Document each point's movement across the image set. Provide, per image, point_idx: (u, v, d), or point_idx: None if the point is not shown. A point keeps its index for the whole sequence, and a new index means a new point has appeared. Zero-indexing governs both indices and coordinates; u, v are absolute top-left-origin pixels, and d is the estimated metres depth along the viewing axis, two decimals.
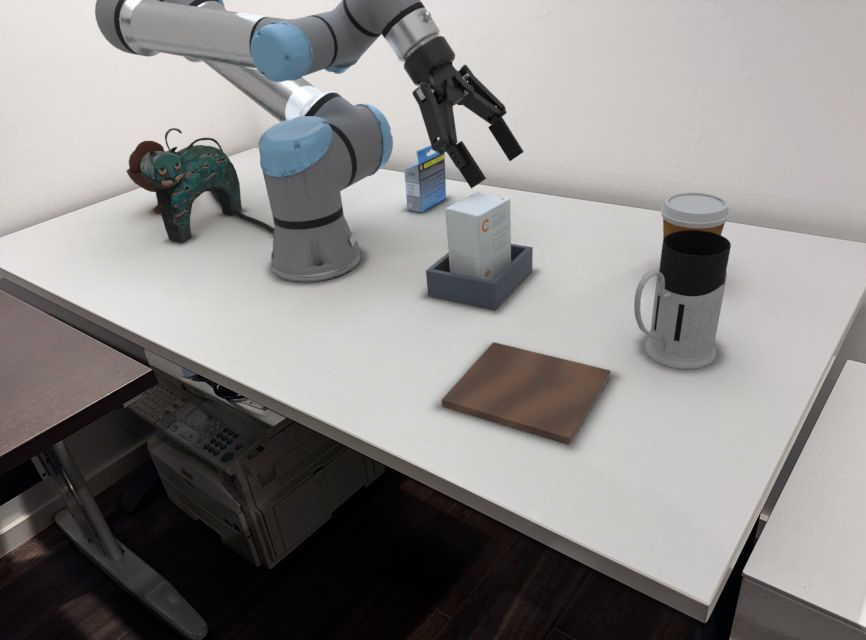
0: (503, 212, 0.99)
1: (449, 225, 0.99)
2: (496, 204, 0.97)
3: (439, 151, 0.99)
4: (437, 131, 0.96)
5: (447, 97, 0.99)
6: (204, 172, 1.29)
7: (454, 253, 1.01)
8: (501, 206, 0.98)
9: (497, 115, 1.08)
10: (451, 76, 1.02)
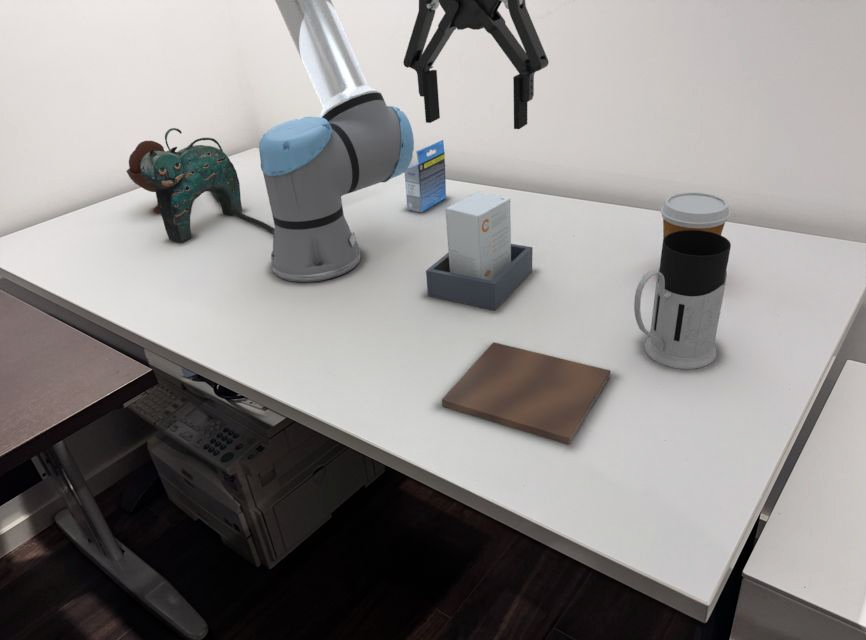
0: (503, 212, 0.99)
1: (449, 225, 0.99)
2: (496, 204, 0.97)
3: None
4: None
5: (441, 21, 0.86)
6: (204, 172, 1.29)
7: (454, 253, 1.01)
8: (501, 206, 0.98)
9: None
10: None
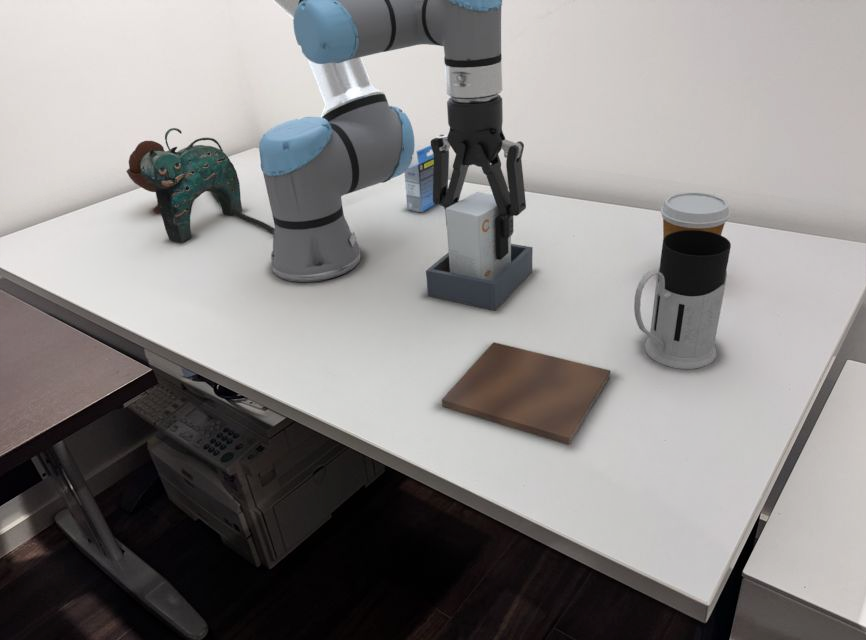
0: None
1: (449, 225, 0.99)
2: None
3: None
4: None
5: (454, 162, 0.95)
6: (204, 172, 1.29)
7: (454, 253, 1.01)
8: None
9: None
10: (479, 141, 0.92)
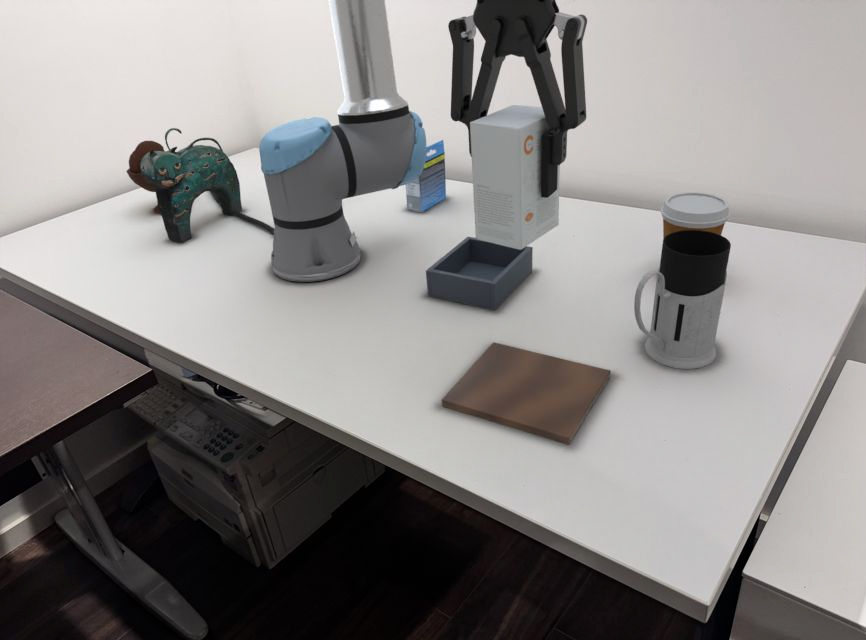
0: None
1: (475, 147, 0.69)
2: (543, 116, 0.68)
3: None
4: None
5: (483, 53, 0.66)
6: (204, 172, 1.29)
7: (482, 190, 0.71)
8: None
9: None
10: (521, 16, 0.63)
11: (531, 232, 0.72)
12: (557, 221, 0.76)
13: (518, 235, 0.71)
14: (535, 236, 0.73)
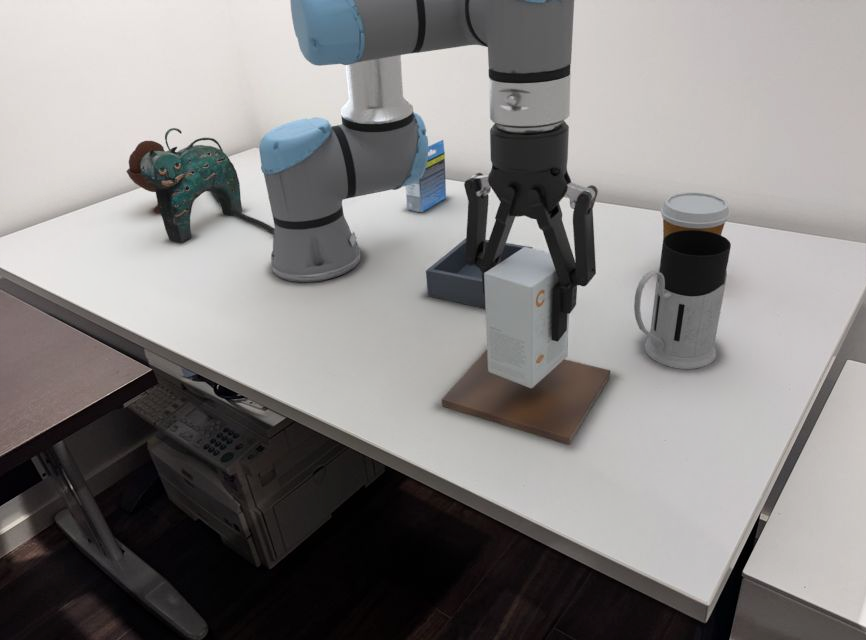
0: None
1: (489, 295, 0.72)
2: (554, 268, 0.71)
3: None
4: None
5: (497, 212, 0.69)
6: (204, 172, 1.29)
7: (495, 332, 0.74)
8: None
9: None
10: (534, 185, 0.66)
11: (541, 371, 0.75)
12: (567, 353, 0.79)
13: (529, 376, 0.74)
14: (545, 373, 0.76)
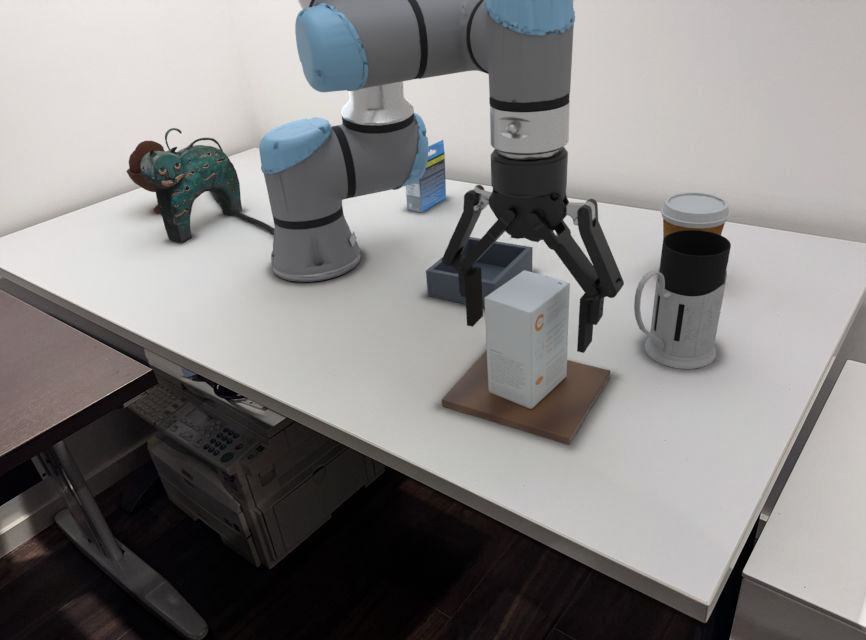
0: (561, 301, 0.74)
1: (489, 319, 0.74)
2: (553, 293, 0.73)
3: None
4: None
5: (491, 227, 0.70)
6: (204, 172, 1.29)
7: (495, 354, 0.76)
8: (559, 294, 0.73)
9: None
10: (534, 209, 0.67)
11: (540, 392, 0.77)
12: (566, 373, 0.81)
13: (529, 397, 0.76)
14: (544, 394, 0.78)
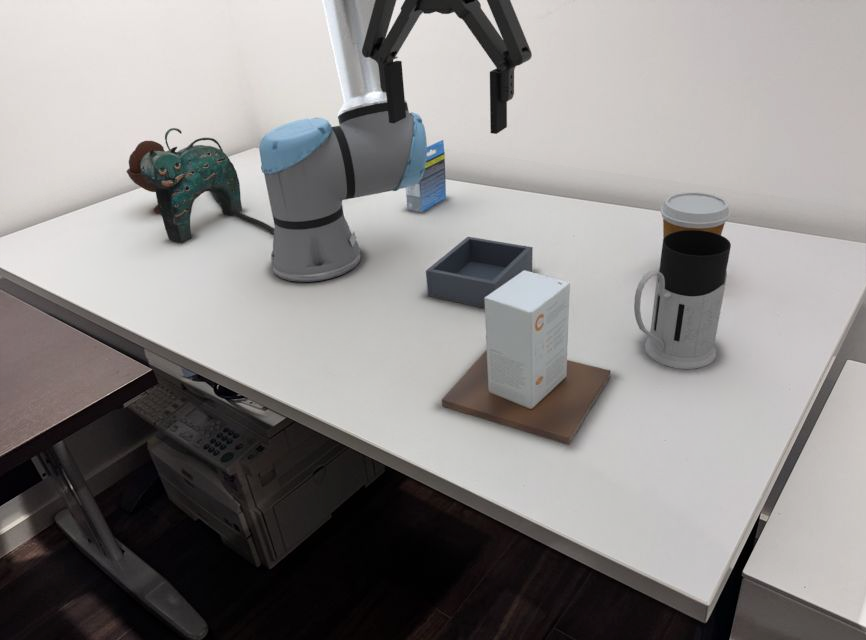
0: (561, 301, 0.74)
1: (489, 319, 0.74)
2: (553, 293, 0.73)
3: None
4: None
5: (404, 3, 0.72)
6: (204, 172, 1.29)
7: (495, 354, 0.76)
8: (559, 294, 0.73)
9: None
10: None
11: (540, 392, 0.77)
12: (566, 373, 0.81)
13: (529, 397, 0.76)
14: (544, 394, 0.78)
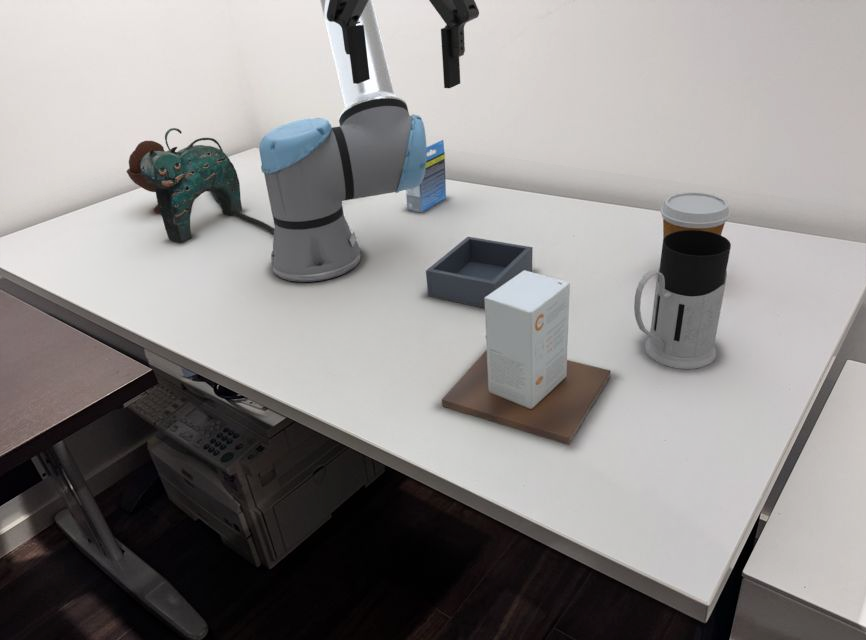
0: (561, 301, 0.74)
1: (489, 319, 0.74)
2: (553, 293, 0.73)
3: None
4: None
5: None
6: (204, 172, 1.29)
7: (495, 354, 0.76)
8: (559, 294, 0.73)
9: None
10: None
11: (540, 392, 0.77)
12: (566, 373, 0.81)
13: (529, 397, 0.76)
14: (544, 394, 0.78)
